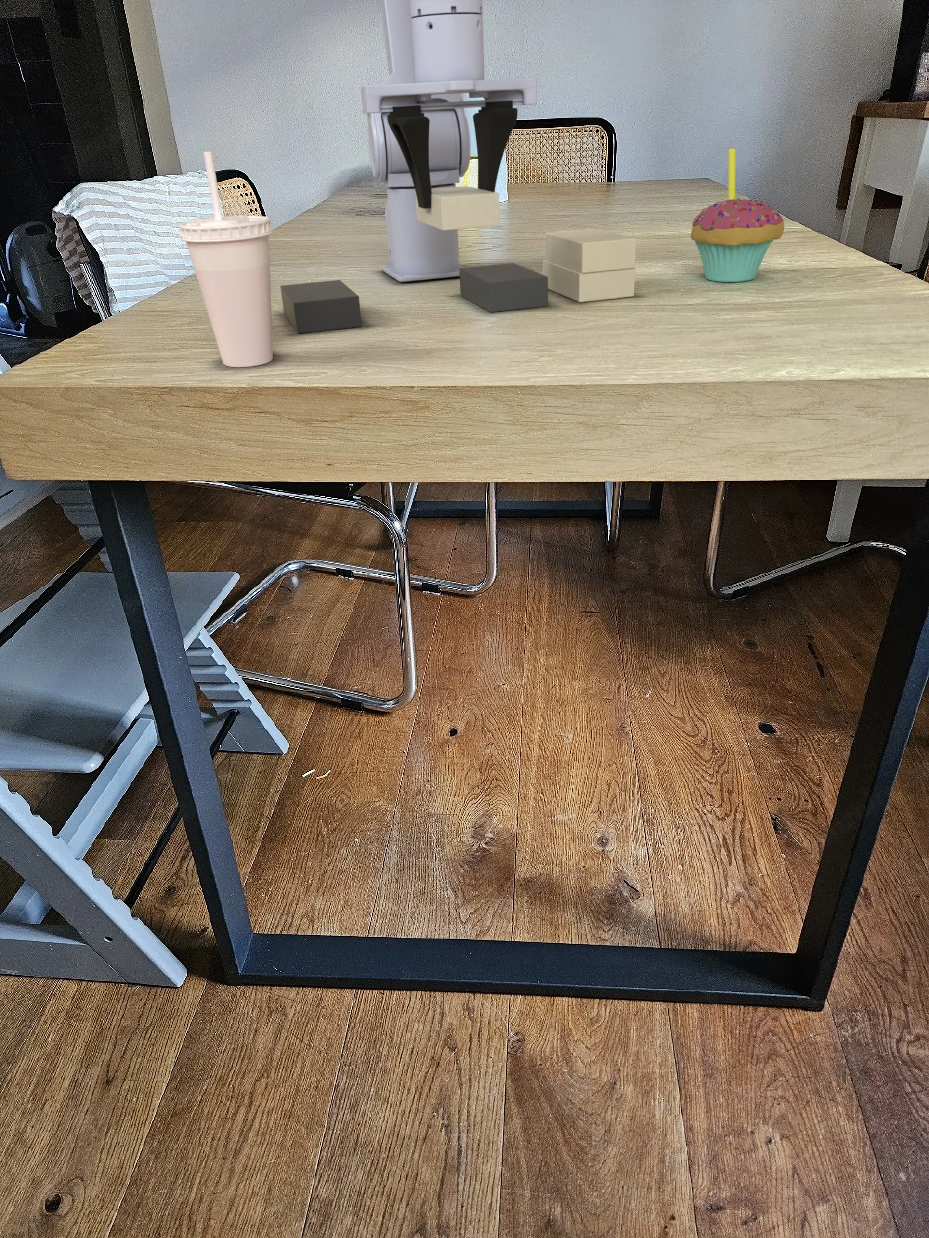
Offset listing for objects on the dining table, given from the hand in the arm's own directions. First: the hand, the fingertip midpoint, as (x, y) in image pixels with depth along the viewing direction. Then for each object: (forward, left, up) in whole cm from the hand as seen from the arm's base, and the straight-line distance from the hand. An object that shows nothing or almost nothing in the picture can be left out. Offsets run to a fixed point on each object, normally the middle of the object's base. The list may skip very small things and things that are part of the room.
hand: (455, 205), depth 77 cm
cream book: (0, 0, -1) cm, 1 cm away
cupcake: (+1, +28, -9) cm, 29 cm away
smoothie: (+12, -20, -9) cm, 25 cm away
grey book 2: (0, +4, -8) cm, 9 cm away
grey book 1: (0, -13, -8) cm, 15 cm away
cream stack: (0, +13, -8) cm, 15 cm away
